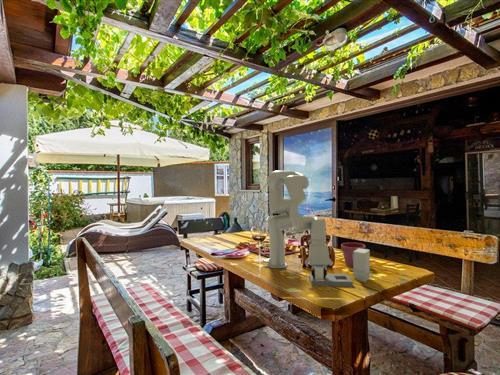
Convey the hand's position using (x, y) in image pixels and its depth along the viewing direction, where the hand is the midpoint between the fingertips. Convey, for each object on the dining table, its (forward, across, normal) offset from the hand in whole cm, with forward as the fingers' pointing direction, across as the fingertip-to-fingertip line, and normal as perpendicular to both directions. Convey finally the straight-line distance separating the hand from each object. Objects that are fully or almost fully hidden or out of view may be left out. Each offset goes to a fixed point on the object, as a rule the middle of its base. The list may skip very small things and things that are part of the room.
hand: (319, 276), depth 154 cm
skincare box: (+4, +24, +7) cm, 25 cm away
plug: (+3, 0, 0) cm, 3 cm away
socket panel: (+3, +6, 0) cm, 6 cm away
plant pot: (+4, +26, +33) cm, 42 cm away
